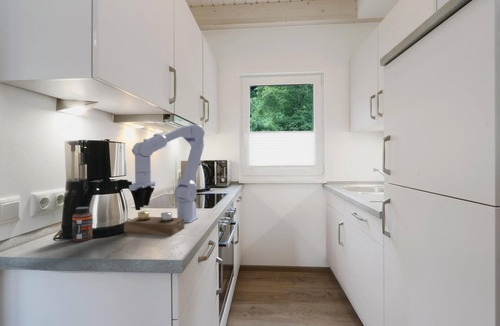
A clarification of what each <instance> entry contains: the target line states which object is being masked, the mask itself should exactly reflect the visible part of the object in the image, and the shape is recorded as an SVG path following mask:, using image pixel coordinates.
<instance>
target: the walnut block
mask: <svg viewBox="0 0 500 326" xmlns="http://www.w3.org/2000/svg"><path fill="white" fill-rule="evenodd" d="M183 229H185V222H184V218H177V217H172V221H171V222H169V223H166V222H161V216H160V217H158V216H149V220H148V221H138V216H137V217H134V218H132V219H130V220H125V221H124V222H123V233H125V234H139V235H140V234H141V235H154V236H155V235H157V236H158V235H159V236H174V235H175V234H177V233H179V232H181V231H182V230H183Z"/></svg>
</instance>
